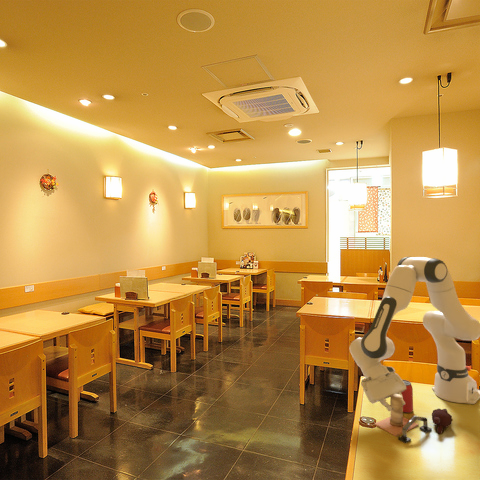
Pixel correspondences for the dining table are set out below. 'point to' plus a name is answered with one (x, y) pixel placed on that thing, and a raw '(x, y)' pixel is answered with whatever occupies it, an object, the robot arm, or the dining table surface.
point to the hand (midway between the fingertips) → (397, 407)
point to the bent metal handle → (410, 422)
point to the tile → (393, 429)
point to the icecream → (441, 419)
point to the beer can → (408, 397)
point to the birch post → (397, 410)
